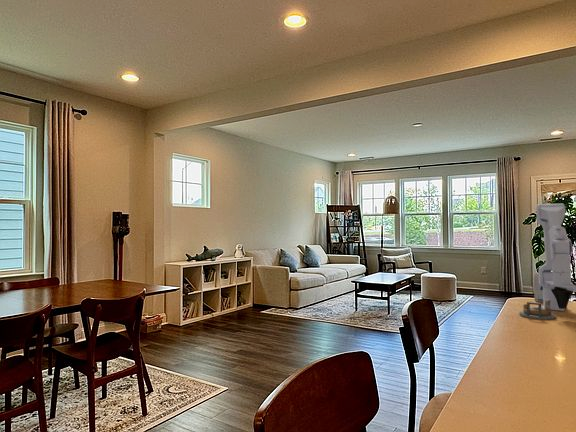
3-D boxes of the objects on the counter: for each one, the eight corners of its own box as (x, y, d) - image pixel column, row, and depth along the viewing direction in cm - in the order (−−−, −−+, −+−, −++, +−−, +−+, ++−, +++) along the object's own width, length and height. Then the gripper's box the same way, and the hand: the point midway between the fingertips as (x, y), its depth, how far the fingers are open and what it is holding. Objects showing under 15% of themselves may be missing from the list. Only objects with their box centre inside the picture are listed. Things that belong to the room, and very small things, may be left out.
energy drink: (550, 302, 185) (550, 275, 185) (538, 302, 185) (538, 275, 185) (543, 299, 190) (542, 274, 190) (532, 300, 190) (531, 274, 191)
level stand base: (523, 311, 166) (522, 296, 167) (558, 315, 159) (557, 300, 159) (516, 316, 157) (515, 301, 157) (552, 321, 149) (552, 304, 150)
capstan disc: (526, 309, 164) (525, 296, 165) (553, 312, 158) (552, 299, 158) (521, 313, 158) (520, 300, 158) (549, 316, 151) (548, 303, 152)
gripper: (587, 274, 146) (588, 312, 146) (557, 269, 161) (558, 304, 160) (569, 274, 146) (570, 312, 145) (540, 270, 160) (541, 304, 160)
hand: (562, 308), depth 153 cm, fingers closed
